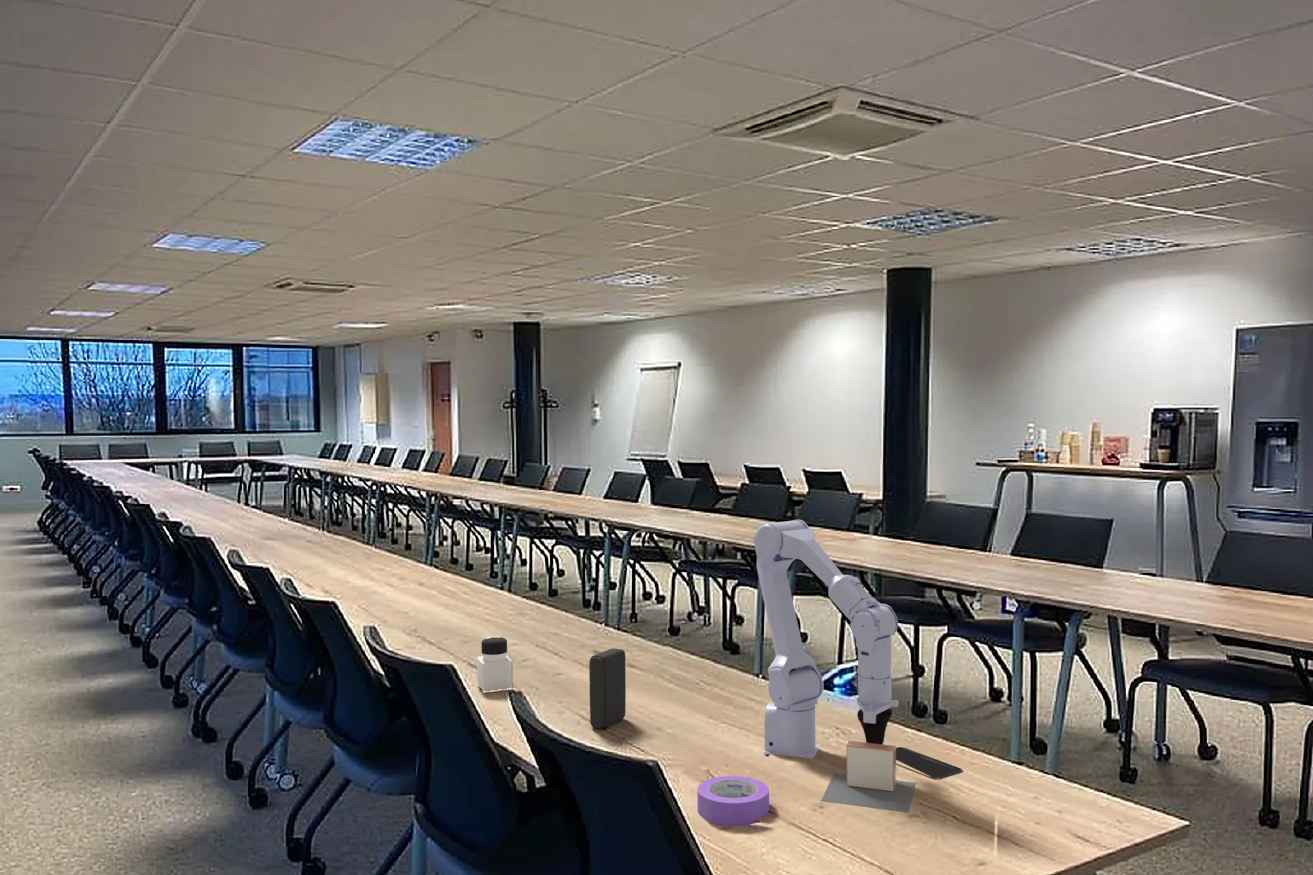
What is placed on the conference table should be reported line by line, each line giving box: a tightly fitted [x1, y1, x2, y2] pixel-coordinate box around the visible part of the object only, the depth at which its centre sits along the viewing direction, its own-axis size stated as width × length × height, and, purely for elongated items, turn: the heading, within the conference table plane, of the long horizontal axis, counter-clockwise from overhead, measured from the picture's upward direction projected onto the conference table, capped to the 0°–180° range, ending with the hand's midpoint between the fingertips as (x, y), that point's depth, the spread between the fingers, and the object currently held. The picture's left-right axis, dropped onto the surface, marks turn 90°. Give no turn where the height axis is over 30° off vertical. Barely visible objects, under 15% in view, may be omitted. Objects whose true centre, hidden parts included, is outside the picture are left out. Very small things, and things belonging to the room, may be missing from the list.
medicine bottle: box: [476, 636, 514, 692], centre depth 225 cm, size 7×7×12 cm
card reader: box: [588, 647, 627, 730], centre depth 198 cm, size 9×4×15 cm, turn 149°
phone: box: [896, 746, 964, 780], centre depth 172 cm, size 8×1×15 cm
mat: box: [820, 772, 916, 813], centre depth 159 cm, size 14×13×1 cm
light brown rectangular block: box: [846, 740, 897, 792], centre depth 161 cm, size 8×3×7 cm, turn 70°
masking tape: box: [696, 775, 770, 827], centre depth 153 cm, size 12×12×4 cm
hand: (875, 751), depth 166 cm, fingers closed
